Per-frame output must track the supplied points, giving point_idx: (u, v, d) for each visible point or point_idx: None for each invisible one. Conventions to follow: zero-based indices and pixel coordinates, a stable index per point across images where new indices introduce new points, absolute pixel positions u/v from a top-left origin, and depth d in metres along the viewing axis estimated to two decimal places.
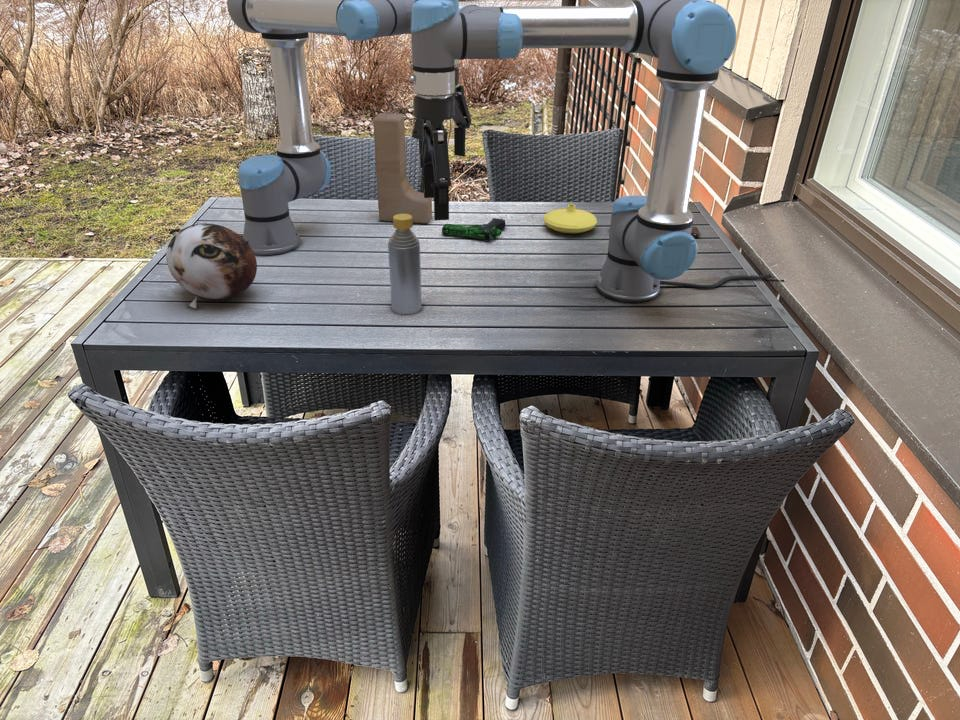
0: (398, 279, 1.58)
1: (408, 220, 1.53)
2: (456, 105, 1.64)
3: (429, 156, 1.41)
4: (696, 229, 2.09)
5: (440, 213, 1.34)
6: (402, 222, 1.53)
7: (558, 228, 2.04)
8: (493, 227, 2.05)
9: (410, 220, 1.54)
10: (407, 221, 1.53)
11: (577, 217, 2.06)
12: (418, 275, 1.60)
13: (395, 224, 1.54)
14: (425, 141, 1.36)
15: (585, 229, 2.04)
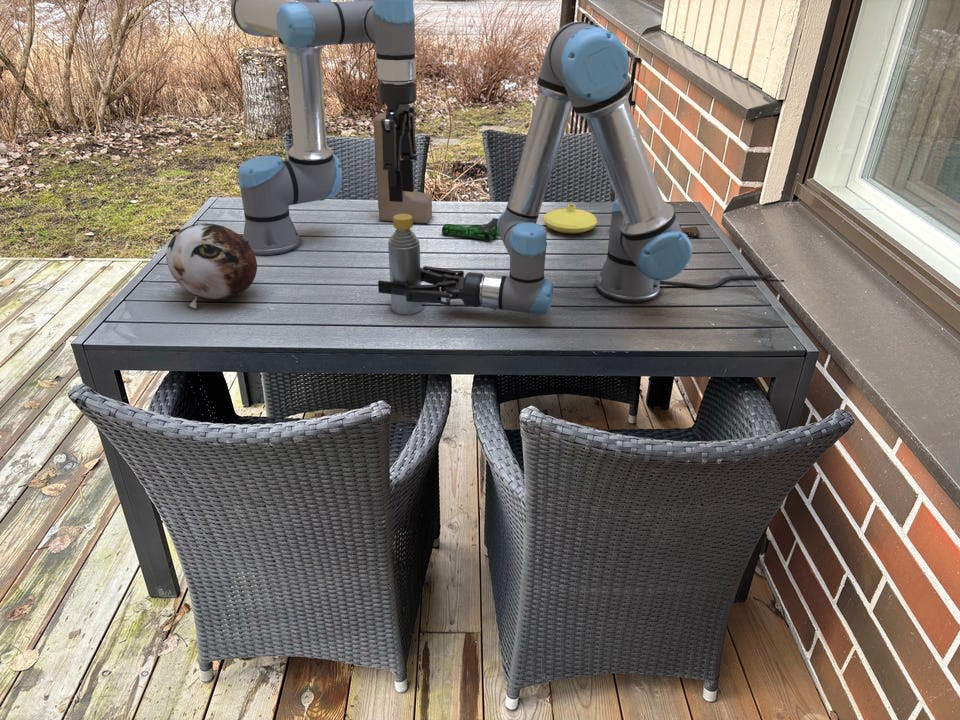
0: (398, 279, 1.58)
1: (408, 220, 1.53)
2: None
3: None
4: (696, 229, 2.09)
5: None
6: (402, 222, 1.53)
7: (558, 228, 2.04)
8: (493, 227, 2.05)
9: (410, 220, 1.54)
10: (407, 221, 1.53)
11: (577, 217, 2.06)
12: (418, 275, 1.60)
13: (395, 224, 1.54)
14: None
15: (585, 229, 2.04)
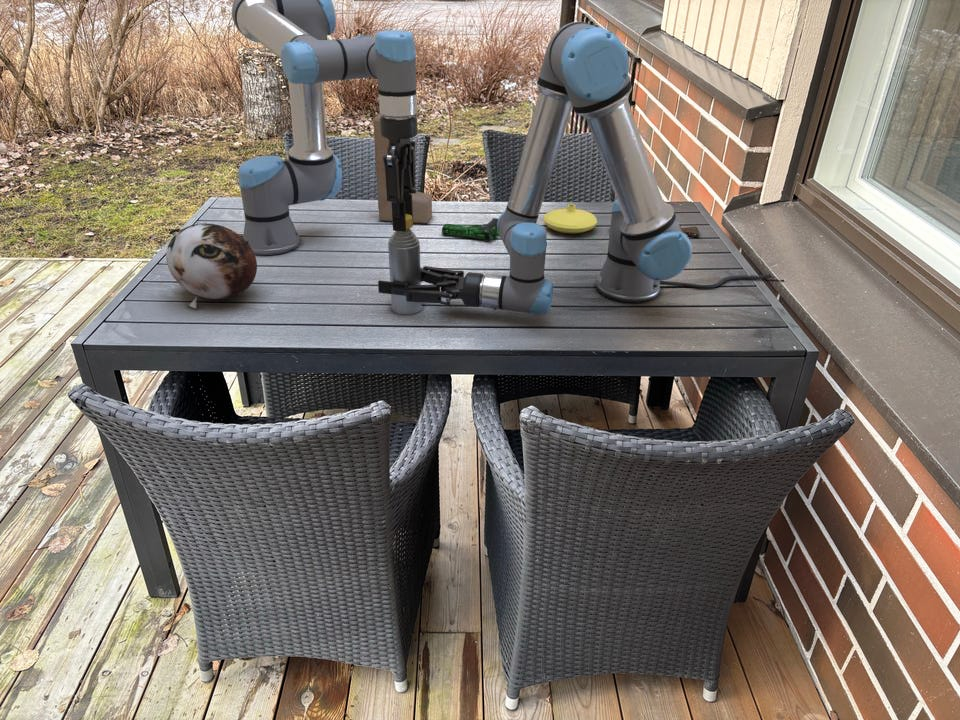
0: (398, 279, 1.58)
1: (408, 220, 1.53)
2: None
3: None
4: (696, 229, 2.09)
5: None
6: None
7: (558, 228, 2.04)
8: (493, 227, 2.05)
9: (410, 220, 1.54)
10: (407, 221, 1.53)
11: (577, 217, 2.06)
12: (418, 275, 1.60)
13: None
14: None
15: (585, 229, 2.04)
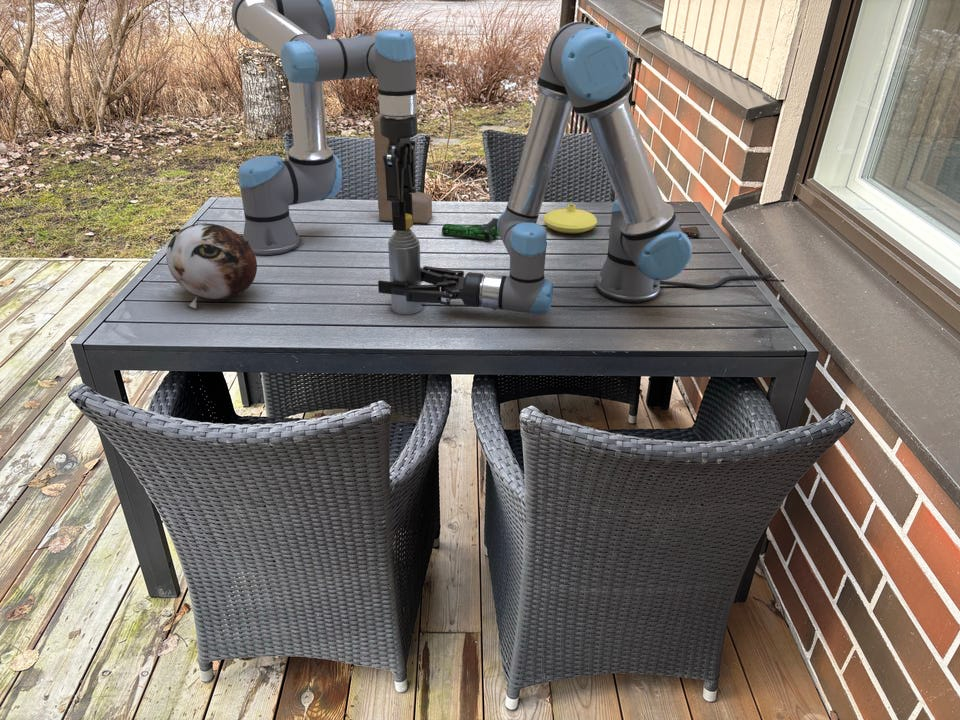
0: (398, 279, 1.58)
1: None
2: None
3: None
4: (696, 229, 2.09)
5: None
6: (412, 218, 1.55)
7: (558, 228, 2.04)
8: (493, 227, 2.05)
9: None
10: None
11: (577, 217, 2.06)
12: (418, 275, 1.60)
13: (410, 223, 1.54)
14: None
15: (585, 229, 2.04)
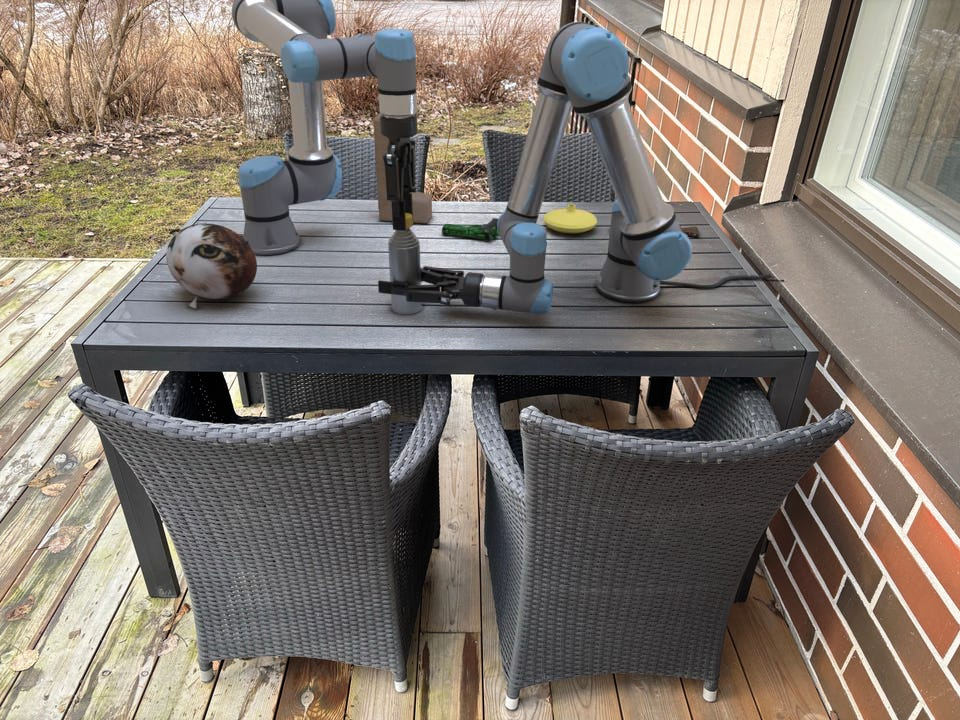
0: (398, 279, 1.58)
1: None
2: None
3: None
4: (696, 229, 2.09)
5: None
6: None
7: (558, 228, 2.04)
8: (493, 227, 2.05)
9: None
10: None
11: (577, 217, 2.06)
12: (418, 275, 1.60)
13: None
14: None
15: (585, 229, 2.04)
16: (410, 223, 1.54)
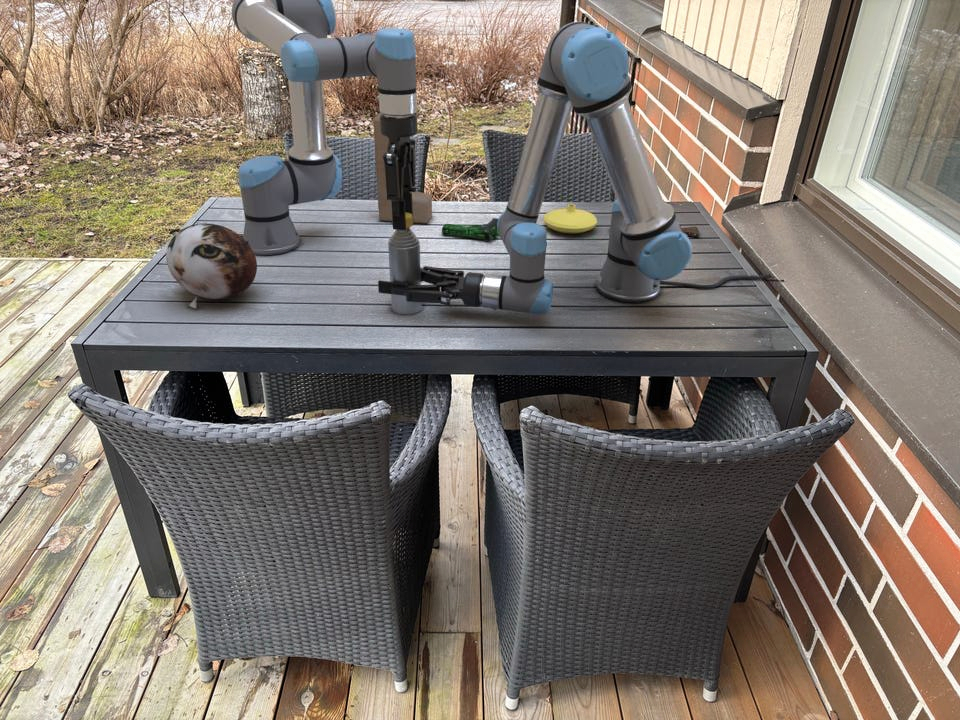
0: (398, 279, 1.58)
1: None
2: None
3: None
4: (696, 229, 2.09)
5: None
6: None
7: (558, 228, 2.04)
8: (493, 227, 2.05)
9: None
10: None
11: (577, 217, 2.06)
12: (418, 275, 1.60)
13: None
14: None
15: (585, 229, 2.04)
16: None
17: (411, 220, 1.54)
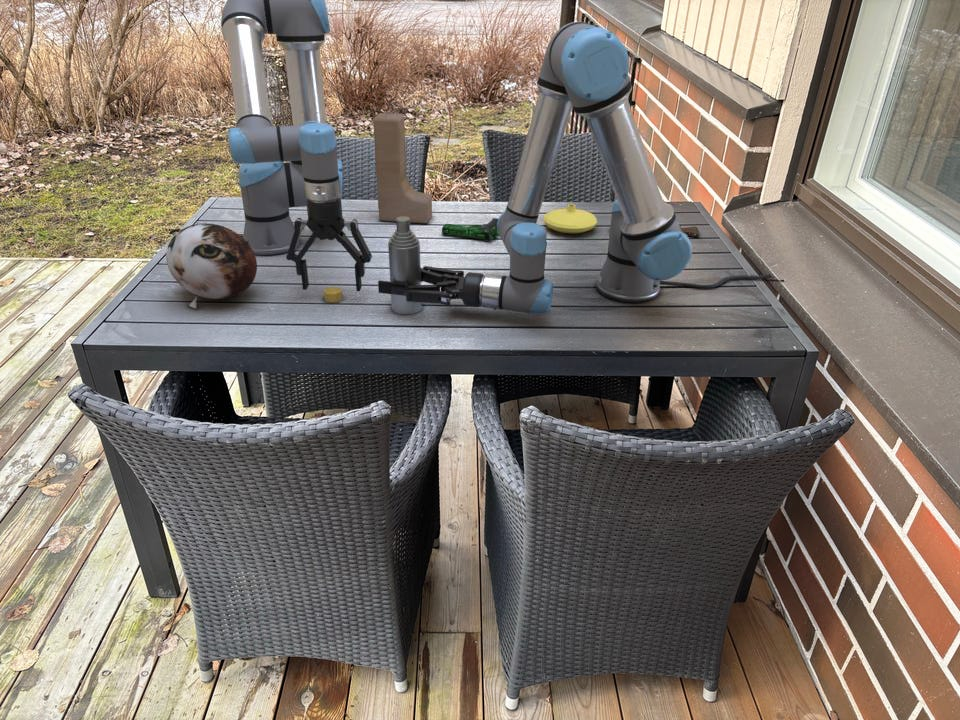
0: (398, 279, 1.58)
1: (341, 291, 1.68)
2: (338, 239, 1.59)
3: None
4: (696, 229, 2.09)
5: None
6: (338, 295, 1.67)
7: (558, 228, 2.04)
8: (493, 227, 2.05)
9: (341, 291, 1.68)
10: (340, 292, 1.68)
11: (577, 217, 2.06)
12: (418, 275, 1.60)
13: (331, 299, 1.66)
14: None
15: (585, 229, 2.04)
16: None
17: None
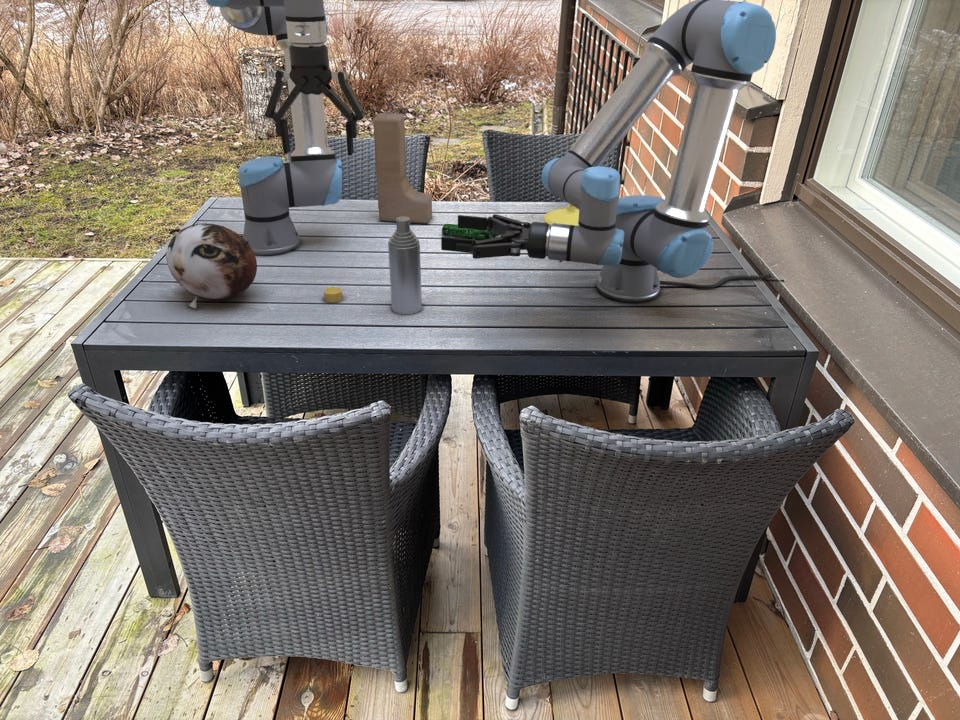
0: (398, 279, 1.58)
1: (341, 291, 1.68)
2: (325, 92, 1.43)
3: None
4: None
5: None
6: (338, 295, 1.67)
7: None
8: None
9: (341, 291, 1.68)
10: (340, 292, 1.68)
11: (577, 217, 2.06)
12: (418, 275, 1.60)
13: (331, 299, 1.66)
14: None
15: None
16: None
17: None
